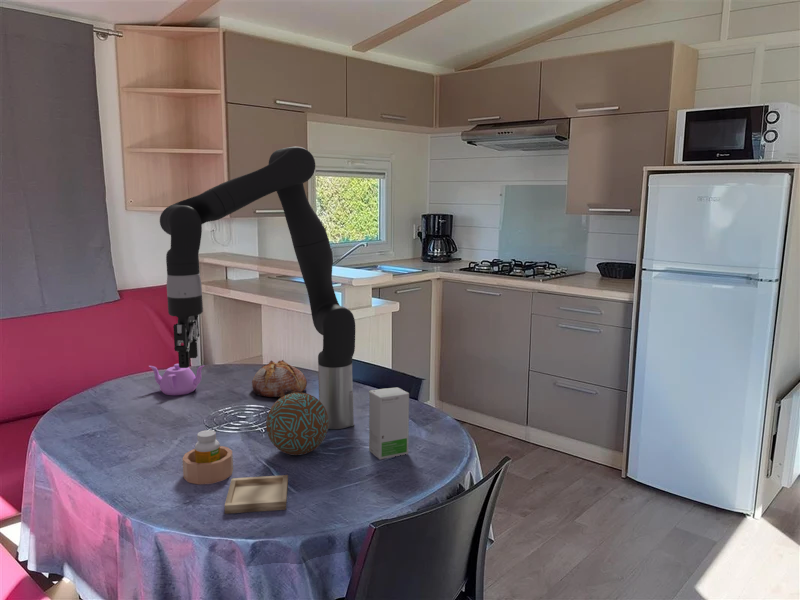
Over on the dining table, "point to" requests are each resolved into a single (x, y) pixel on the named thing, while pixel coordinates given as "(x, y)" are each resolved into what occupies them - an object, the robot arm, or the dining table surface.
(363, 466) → the dining table surface
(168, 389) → the teapot
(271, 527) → the dining table surface
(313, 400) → the decorative sphere
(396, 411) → the skincare box
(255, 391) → the bread
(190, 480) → the holder ring
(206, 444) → the supplement bottle
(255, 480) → the tray
